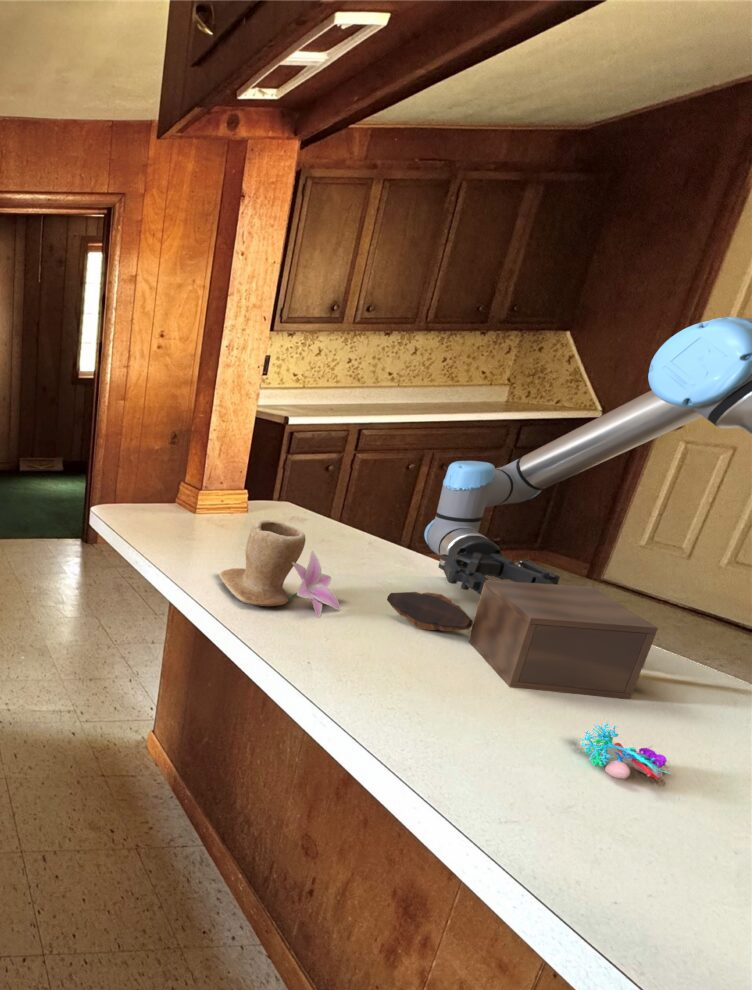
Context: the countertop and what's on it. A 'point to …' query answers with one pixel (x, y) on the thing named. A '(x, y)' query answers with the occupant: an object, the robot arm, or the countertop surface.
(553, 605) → the cabinet
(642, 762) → the anatomy model
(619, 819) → the countertop surface
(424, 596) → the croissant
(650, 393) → the robot arm
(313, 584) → the lily
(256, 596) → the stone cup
